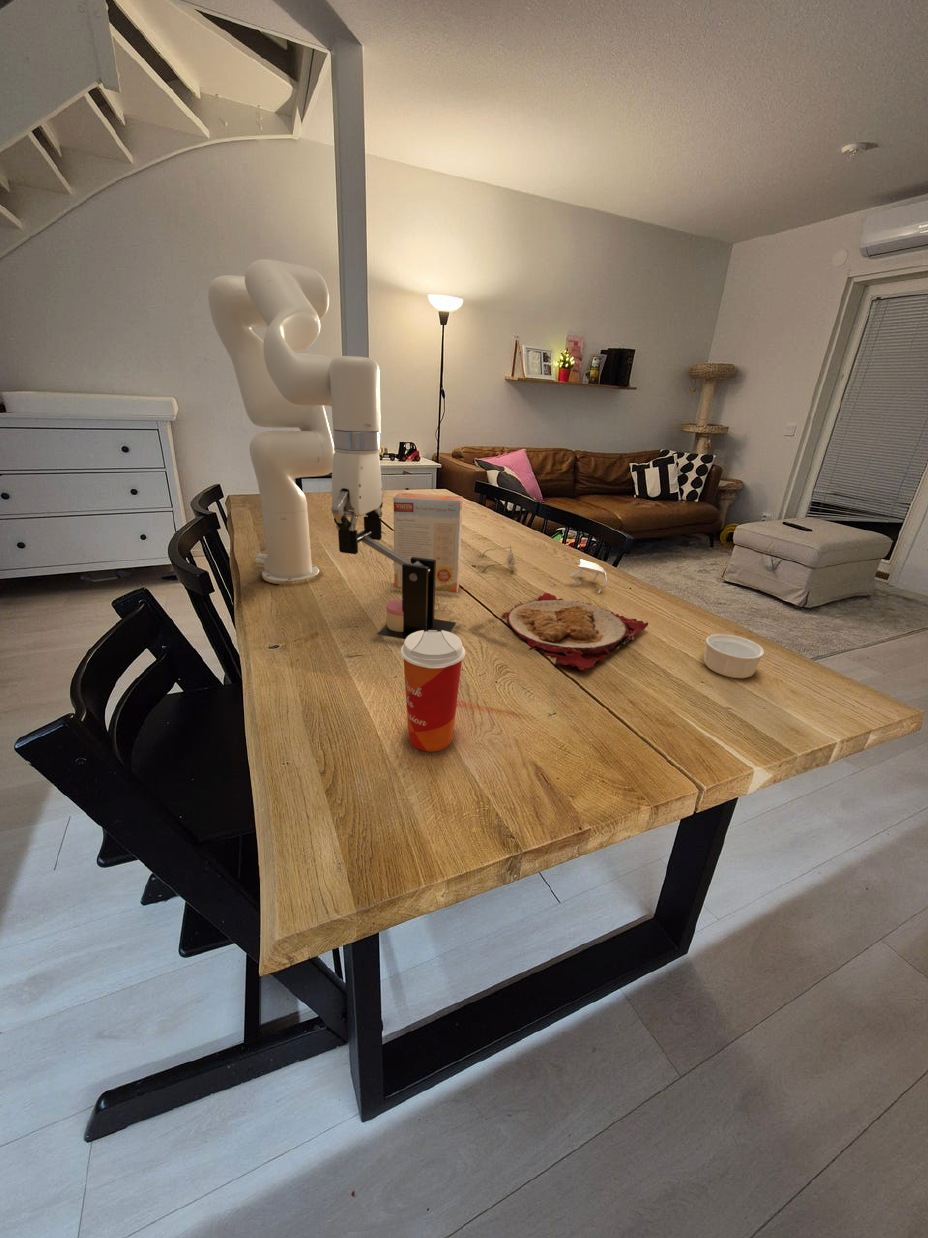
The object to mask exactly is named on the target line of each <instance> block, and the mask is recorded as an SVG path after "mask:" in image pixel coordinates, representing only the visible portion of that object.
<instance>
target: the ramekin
mask: <svg viewBox="0 0 928 1238" xmlns="http://www.w3.org/2000/svg"><path fill="white" fill-rule="evenodd" d="M764 655H765V650H764V648H763V647H762V646H761V645H759V644H758V643H757V642H755V641H753V640H750V639H748V638H745V637H742V636H739V635H733V634H727V633H716V634H711V635H709V636H707V637H706V639H705V649H704V655H703V662H704V664H705V666H706V667H707V668H708V669H709V670H711V671H712V672H714V673H716V674H719V675H720V676H723V677H728V678H734V679H747V678H750V677H752V676H753V675H754V674H755V672H756V670H757V668H758V665H759V664H760V662H761V659H763V657H764Z"/></svg>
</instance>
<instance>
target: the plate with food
mask: <svg viewBox="0 0 928 1238" xmlns="http://www.w3.org/2000/svg"><path fill="white" fill-rule="evenodd" d="M562 597H563V596H562ZM562 597H561V598H557V596H556V595H553V594H551V593H549V592H544V593H543V594H542V595H539V597H537V599H536V600H531V601H529V603H527V602H526V603H521V604H518V605H517V604H515V605H514V607H513V608H511V609H510V611H506V612H504V613H502V614H501V618H506V617H507V618H506V621H507V623H508V624H509V626H510V628H511V629H512V631H513V633H515V634H516V635H517V636H518V637H519V638H520V639H521V640H522V641H525V642H526V645H528V646H529V647H530V648H528V649H531V650H536V649H537V647H538V648H540V649H541V651H542V652H544V650H546V651H545V652H544V655H546V656H550V659H555V662H556V663H558V664H562V665H564V666H571V667H577V669H578V670H579V671H584V670H588V669H589V668H594V666H595V663H596V662H597V661H598V662H600V663H602V662H603V661H604V660H605V659H606V657H607V656H609V655H611V654H612V653H613V652H614V651H615V650H619V649H620V647H624V646H625V647H626V645H627V643H628V642H630V641H634V640H635V636H636V635H637V634H640V633H642V631H644V630H645V629H647V627H648V625H649V624H650V623H649V622H648V621H646V622H644V621H643V620H637V619H636V618H628V617H625V616H624V615H620V614H619V613H614V612H613V611H611V610H608V609H605V608H603V607H602V608H601V607H598V606H596V605H593V604H592V603H591V602H584V601H578V600H565V599H564V598H562ZM548 612H554V614H553V615H555V617H554V616H553V615H550V614H549V613H548ZM492 628H493V629H494V628H495V627H494V626H492ZM620 641H621V643H622V644H621V645H619V646H616V645H617V644H618V643H619V642H620ZM556 653H563V654H560V655H559V654H556Z"/></svg>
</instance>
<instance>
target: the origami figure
mask: <svg viewBox="0 0 928 1238" xmlns="http://www.w3.org/2000/svg"><path fill="white" fill-rule="evenodd" d="M579 562H580V563H579V565H577V567H576V568H577V569H576V570H574V571H572V572H571V573H570V574H569V575H568V577H570V578H571V579H572V580H574V581H575V582H576V583H573V584H571V586H572V587H576V586H577V585H580V584H582V582H581V581H580V580H579V579H582V574H583V571H587V572H592V573H595V575H594V577H593V579H592V581H593V584H596V579H597V578H598V576H599V575H603V582H604V583H603V586H601V587H599V590H598V591H597V594H600V593H601V592H602V590H603V589H605V588H606V587H607V586H608V578H607V573H606V570H605V569H604V568H603V567H602V566H601V565H599V564H598V563H596V562H592V561H589V560H585V559H580V560H579ZM578 574H579V579H578V578H577V577H576V576H577V575H578Z"/></svg>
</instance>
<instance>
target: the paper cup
mask: <svg viewBox="0 0 928 1238" xmlns="http://www.w3.org/2000/svg"><path fill="white" fill-rule="evenodd" d="M400 655H401V658H402V659H403V673H404V686H405V687H404V688H405V702H406V716H407V717H406V718H407V719H406V720H407V730H408V739H409V742H410V744H411V745H412V747H414V748H415V749H417V750H420V751H423V752H429V753H432V752H439V751H442V750H444V749H446V748H447V747H449V746H450V745H451V743H452V740H453V735H454V730H455V722H456V721H455V720H456V715H457V714H456V712H457V707H458V706H457V704H458V696H459V689H460V678H461V670H462V665H463V664H462V663H463V659H464V658H465V656H466V648H465V647H464V646H463V642H462V640H461V638H460V637H459V636H458V635H457V634H455V633H453V632H451V633H450V632H447V631H443V630H441V632H437V630H428V632H424V630H421V631H417V632H414V633H412V634H410V635H409V636H408V637H407V638H406V639H404V641H403V644H402V646H401V648H400Z"/></svg>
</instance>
